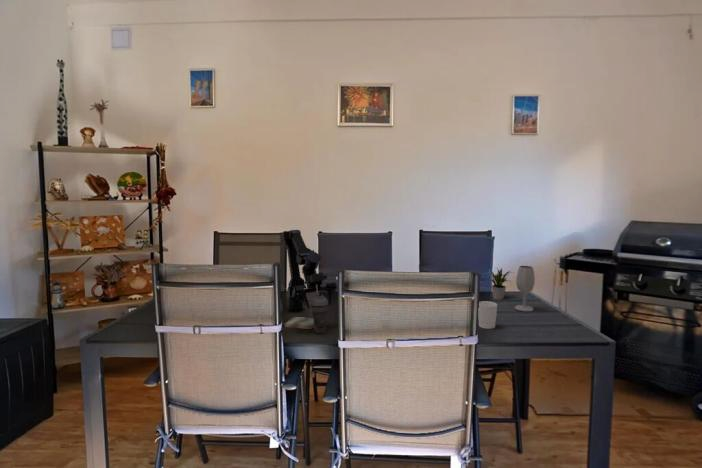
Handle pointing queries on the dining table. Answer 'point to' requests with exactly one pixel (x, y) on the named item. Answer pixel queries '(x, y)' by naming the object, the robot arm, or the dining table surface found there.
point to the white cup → (487, 314)
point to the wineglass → (525, 285)
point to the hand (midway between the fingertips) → (319, 307)
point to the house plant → (499, 284)
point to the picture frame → (300, 323)
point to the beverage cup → (319, 312)
